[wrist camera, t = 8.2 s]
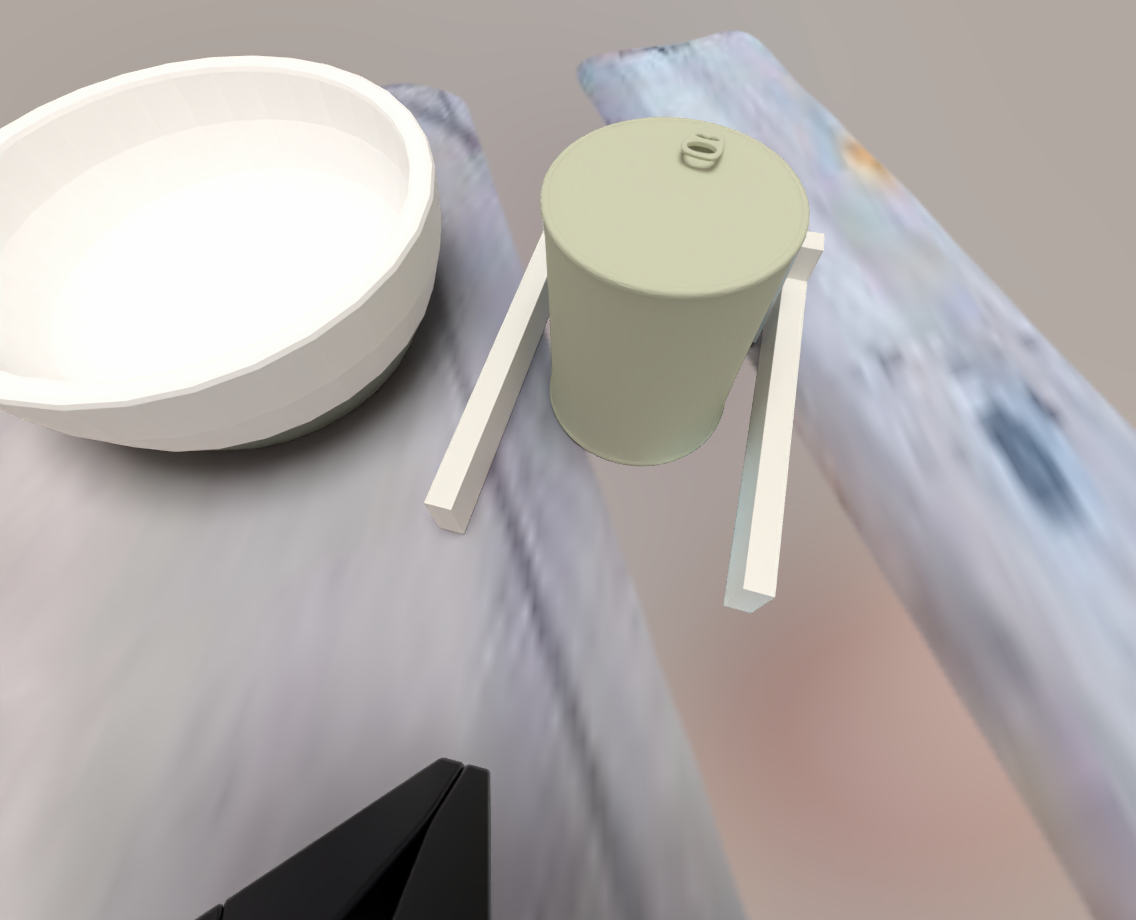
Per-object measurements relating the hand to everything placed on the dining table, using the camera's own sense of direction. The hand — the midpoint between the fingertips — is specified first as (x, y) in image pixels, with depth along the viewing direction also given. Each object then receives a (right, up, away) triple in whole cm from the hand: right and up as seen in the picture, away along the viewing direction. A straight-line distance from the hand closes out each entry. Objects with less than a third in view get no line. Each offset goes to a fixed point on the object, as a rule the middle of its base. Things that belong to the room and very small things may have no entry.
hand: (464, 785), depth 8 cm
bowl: (-16, +13, +22) cm, 30 cm away
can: (+5, +9, +20) cm, 22 cm away
